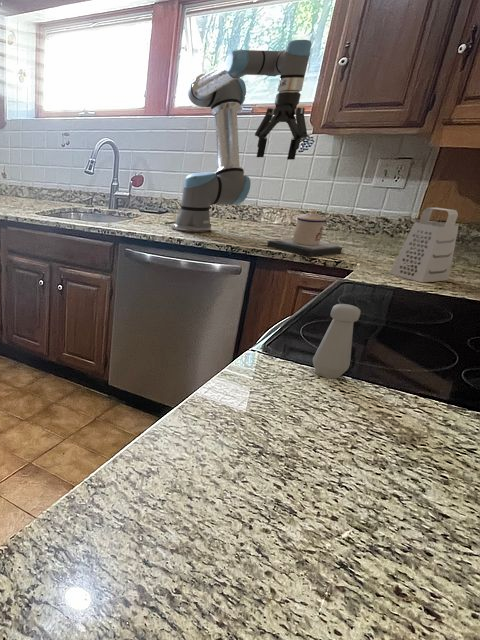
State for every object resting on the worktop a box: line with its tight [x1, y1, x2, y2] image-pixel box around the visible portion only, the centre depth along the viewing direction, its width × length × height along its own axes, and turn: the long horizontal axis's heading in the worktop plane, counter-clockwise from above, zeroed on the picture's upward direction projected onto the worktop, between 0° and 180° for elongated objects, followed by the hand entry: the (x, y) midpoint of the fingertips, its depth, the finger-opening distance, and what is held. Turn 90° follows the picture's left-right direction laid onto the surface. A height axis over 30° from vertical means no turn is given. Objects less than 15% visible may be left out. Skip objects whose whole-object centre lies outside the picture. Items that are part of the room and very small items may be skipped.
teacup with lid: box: [292, 209, 327, 245], centre depth 190 cm, size 12×9×12 cm
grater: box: [388, 207, 459, 283], centre depth 155 cm, size 10×10×20 cm
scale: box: [267, 238, 343, 258], centre depth 192 cm, size 18×16×2 cm
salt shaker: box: [312, 303, 361, 380], centre depth 93 cm, size 6×6×13 cm
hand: (274, 158), depth 189 cm, fingers open, 13 cm apart
